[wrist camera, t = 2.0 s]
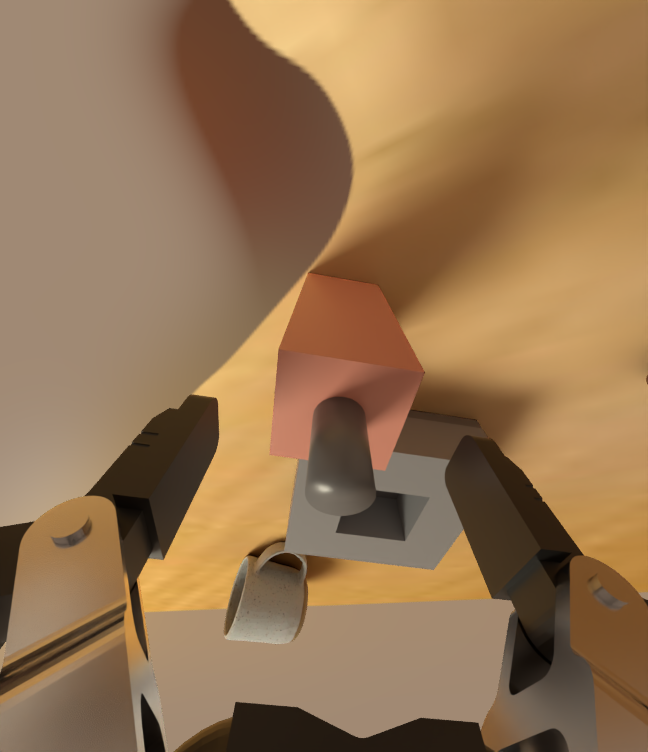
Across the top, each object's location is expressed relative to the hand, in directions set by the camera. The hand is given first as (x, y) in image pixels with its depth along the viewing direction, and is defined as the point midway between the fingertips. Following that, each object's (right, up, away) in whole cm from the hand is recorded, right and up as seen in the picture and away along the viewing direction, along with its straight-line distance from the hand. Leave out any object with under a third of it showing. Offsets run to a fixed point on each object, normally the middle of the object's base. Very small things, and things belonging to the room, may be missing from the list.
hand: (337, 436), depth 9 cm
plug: (0, +6, +10) cm, 12 cm away
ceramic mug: (-7, -22, +27) cm, 35 cm away
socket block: (+4, -6, +17) cm, 19 cm away
